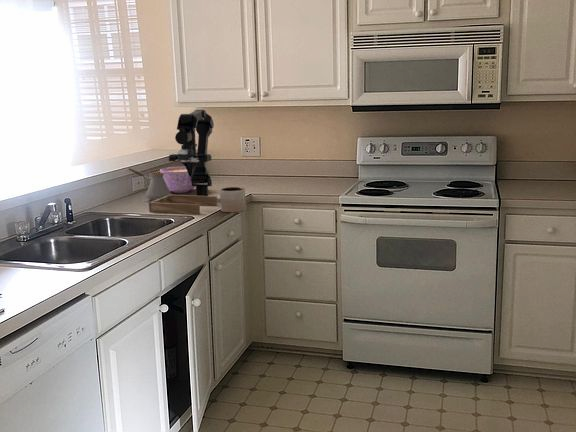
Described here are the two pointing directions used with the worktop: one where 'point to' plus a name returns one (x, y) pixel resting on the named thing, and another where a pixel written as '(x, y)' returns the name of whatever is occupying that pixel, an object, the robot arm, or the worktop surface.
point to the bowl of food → (177, 179)
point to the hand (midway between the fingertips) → (190, 176)
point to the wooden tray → (181, 203)
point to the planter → (232, 199)
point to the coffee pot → (155, 186)
